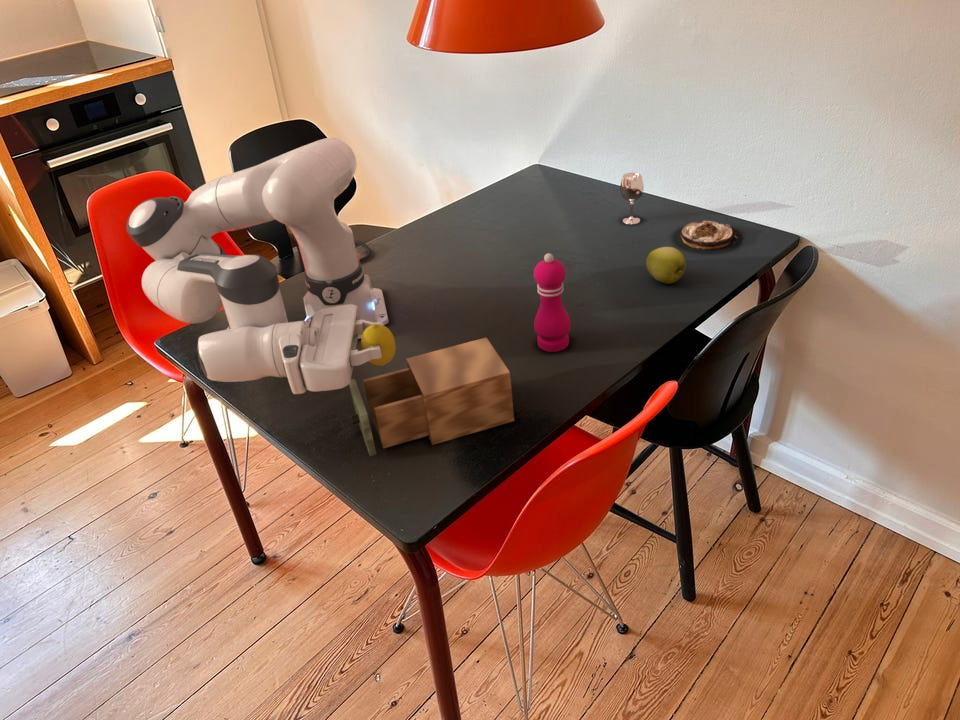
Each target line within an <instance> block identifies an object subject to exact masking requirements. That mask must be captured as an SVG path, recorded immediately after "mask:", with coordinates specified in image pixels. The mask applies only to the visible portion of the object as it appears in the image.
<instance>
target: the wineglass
mask: <svg viewBox="0 0 960 720" xmlns="http://www.w3.org/2000/svg"><path fill="white" fill-rule="evenodd" d="M644 189H645V187H644V180H643V176H642V174H641V173H639V172H627V173H624V174H623V175H622V176H621V181H620V187H619V190H620V191H619V192H620V196H621V197H622V198H623V199H624V200H626V201H629V209H630V216H627V217H624V218H623V219H622V223H624V224H626V225H637V224H640V222H641V219H640V218H639V217H637V216H634V214H633V209H634V205H635V204H634V201H637V200H640V199H641V197H642V196H643V194H644Z"/></svg>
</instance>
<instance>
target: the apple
mask: <svg viewBox="0 0 960 720" xmlns="http://www.w3.org/2000/svg"><path fill="white" fill-rule="evenodd" d="M686 261H687V260H686V258H685V255H684V254H683V253H682V252H681V251H680V249H678V248H675V247H672V246H662V247H658V248H655V249H653V250H652V251H650V253H649V254H648V255H647V258H646V262H645V264H646V269H647V271H648V273H649V274H650V276H651V277H652V278H653V279H655V280H656V281H658V282H659V283H662V284H667V285H669V284H671V285H672V284H674V283H677V282H678V281H679V280H680V279H681V278H682V277H683V275H684V274H685V272H686V269H687V262H686Z"/></svg>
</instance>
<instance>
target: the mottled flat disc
mask: <svg viewBox="0 0 960 720" xmlns="http://www.w3.org/2000/svg"><path fill="white" fill-rule="evenodd" d="M736 235H738V233H737V232H735V231H734V227H732V226H731V225H730V224H728V223H726V224H724V223H723V222H720V223H719V222H717V221H713V220H705V219H704V220H702V221H692V222H689V223H688V224H685V225H683V228H682V229H681V231H680V236H679V237H680V238H681V243H683V244H685V245H686V246H688V247H691V248H693V249H695V250H698V251H716V250H722V249H724V248H727V246H730V245H731V244H732V243H733V244H735V242H737V240H736V241H732V240H733V239H734V238H735V239H738V236H736Z"/></svg>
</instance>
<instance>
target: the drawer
mask: <svg viewBox="0 0 960 720" xmlns="http://www.w3.org/2000/svg"><path fill="white" fill-rule="evenodd" d="M362 381H363V385H364V389H365V394H366V398H367V402H368V407H369V411H370V417H371V419H372V422H373V425H374V427H375V430H376V433H377V435H378V439H379V442H380V445H381V446H382V449H387V448H390V447H393V446H397V445H401V444H404V443H407V442H411V441H414V440H418V439H422V438H425V437H428V435H430V433H429V427H428V422H427V416H426V410H425V404H424V398H423V395H422V393H421V391H420V389H419V387H418V385H417V383H416V381H415V379H414V376H413V374H412V372H411V370H410V368H408V367H405V368H402V369H397V370H394V371H390V372H387V373H384V374H380V375H379V374H378V375H375V376H372V377H367V378H364V379H363V380H362ZM348 386H349V390H350V394H351V398H352V404H353V407H354V411H355V414H351V415H350V419H351V422H352V424H353V425H356V424H358V425H359V426H358V427H359V429H360V432H361V434H362V438H363V441H364V443H365V446H366V449H367V452H368V455H369V457H373V456H376V455H377V449H376V445H375V441H374V437H373V432H372V428H371V424H370V419H369V414H368V412H367V409H366V405H365V403H364V400H363V398H362V397H363V396H362V395H361V393H360V392H361V391H360V389H359V386H358V383H357V380H356V378H351V382H350V384H349V385H348Z"/></svg>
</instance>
